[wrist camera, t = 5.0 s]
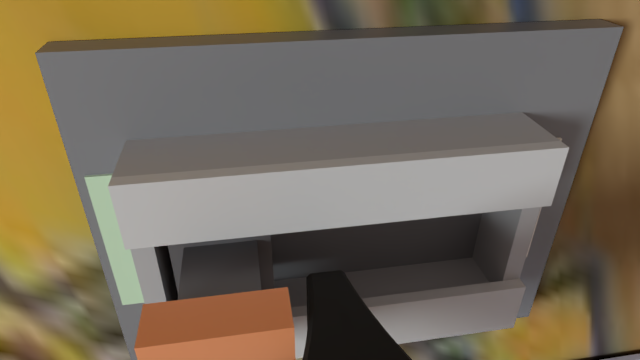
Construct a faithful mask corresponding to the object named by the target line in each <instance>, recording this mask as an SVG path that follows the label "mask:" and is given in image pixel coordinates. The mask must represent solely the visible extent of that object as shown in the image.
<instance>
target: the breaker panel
mask: <svg viewBox="0 0 640 360" xmlns="http://www.w3.org/2000/svg"><path fill="white" fill-rule="evenodd" d="M623 28H624V27H623V26H620V25H617V24H614V23H611V22H608V21H605V20H602V19H590V20H566V21H541V22H517V23H493V24H468V25H444V26H420V27H395V28H371V29H347V30H322V31H298V32H274V33H249V34H225V35H201V36H177V37H152V38H128V39H104V40H79V41H55V42H47V43H46V44H45V45H44V46H43V47H41V48H40V49H39V50H38V51H37V52H36V53H35V54H36V57H37V60H38V64H39V67H40V70H41V73H42V76H43V80H44V83H45V86H46V89H47V92H48V96H49V99H50V102H51V105H52V108H53V112H54V115H55V118H56V121H57V124H58V127H59V131H60V134H61V137H62V140H63V143H64V147H65V150H66V153H67V156H68V159H69V163H70V166H71V169H72V172H73V175H74V179H75V182H76V185H77V188H78V191H79V195H80V198H81V201H82V204H83V207H84V210H85V214H86V217H87V220H88V223H89V226H90V230H91V233H92V236H93V239H94V242H95V246H96V249H97V252H98V255H99V258H100V262H101V265H102V268H103V271H104V274H105V278H106V281H107V284H108V287H109V290H110V293H111V297H112V300H113V303H114V306H115V309H116V313H117V316H118V319H119V322H120V325H121V329H122V332H123V335H124V338H125V341H126V345H127V348H128V351H129V354H130V357H131V360H137V356H136V353H135V350H134V347H135V342H136V337H137V332H138V327H139V322H140V317H141V312H142V307H143V304H150V303H158V302H166V301H175V300H178V291H177V287H176V282H175V277H174V273H173V268H172V263H171V258H170V254H169V249H168V245H176V244H186V243H196V242H205V241H215V240H225V239H234V238H244V237H254V236H263V235H271V245H272V260H273V276H274V289H275V288H283V287H288V291H289V298H290V304H291V310H292V316H293V323H294V333H295V359H296V358H303V355H304V349H305V344H306V337H307V289H306V277H307V276H308V275H309V274H311V273H319V272H328V271H337V270H341V271H343V272H344V273H345V274H346V276H347V278H348V279H349V281H350V282H351V284H352V286H353V287H354V289H355V290H356V292H357V293H358V294H359V296H360V297H361V299H362V300H363V301H364V303H365V304H366V306H367V307H368V308H369V310H370V311H371V312H372V314H373V315H374V316H375V317H376V319H377V320H378V321H379V322H380V324H381V325H382V326H383V327H384V329H385V330H386V331H387V332H388V333H389V335H390V336H391V337H392V338H393V339H394V340H395V342H396V343H397V344H401V343H408V342H415V341H422V340H429V339H436V338H443V337H450V336H457V335H464V334H471V333H478V332H485V331H493V330H500V329H507V328H513V327H514V324H515V321H516V318H520V317H527V316H529V313H530V310H531V307H532V304H533V301H534V298H535V295H536V292H537V289H538V286H539V283H540V280H541V277H542V274H543V271H544V268H545V265H546V262H547V258H548V255H549V252H550V249H551V246H552V243H553V240H554V237H555V234H556V231H557V228H558V225H559V222H560V219H561V216H562V213H563V210H564V207H565V204H566V201H567V198H568V195H569V192H570V189H571V186H572V182H573V179H574V176H575V173H576V170H577V167H578V164H579V161H580V158H581V155H582V152H583V149H584V146H585V143H586V140H587V137H588V134H589V131H590V128H591V125H592V122H593V119H594V116H595V113H596V110H597V107H598V103H599V100H600V97H601V94H602V91H603V88H604V85H605V82H606V79H607V76H608V73H609V70H610V67H611V64H612V61H613V58H614V55H615V52H616V49H617V46H618V43H619V40H620V37H621V34H622V31H623Z"/></svg>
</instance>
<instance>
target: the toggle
mask: <svg viewBox="0 0 640 360" xmlns="http://www.w3.org/2000/svg"><path fill="white" fill-rule="evenodd" d="M168 249H169V254H170V258H171V263H172V268H173V273H174V277H175V282H176V287H177V291H178V300H175V301H166V302H158V303H150V304H143V307H142V312H141V317H140V322H139V327H138V332H137V337H136V342H135V347H134V350H135V353H136V356H137V360H295V333H294V323H293V316H292V310H291V304H290V298H289V291H288V287H283V288H275V289H274V276H273V260H272V245H271V235H263V236H254V237H244V238H234V239H225V240H215V241H205V242H196V243H186V244H176V245H168Z"/></svg>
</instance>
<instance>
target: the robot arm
mask: <svg viewBox="0 0 640 360" xmlns="http://www.w3.org/2000/svg"><path fill="white" fill-rule="evenodd" d="M306 289H307V337H306V344H305V349H304V355H303V360H412V359H411V358H410V357H409V356H408V355H407V354H406V353H405V352H404V351H403V349H402V348H401V347H400V346H399V345H398V344H397V343H396V342H395V340H394V339H393V338H392V337H391V336H390V335H389V333H388V332H387V331H386V330H385V329H384V327H383V326H382V325H381V324H380V322H379V321H378V320H377V319H376V317H375V316H374V315H373V314H372V312H371V311H370V310H369V308H368V307H367V306H366V304H365V303H364V301H363V300H362V299H361V297H360V296H359V294H358V293H357V292H356V290H355V289H354V287H353V286H352V284H351V282H350V281H349V279H348V278H347V276H346V274H345V273H344V272H343V271H341V270H337V271H328V272H319V273H311V274H309V275H308V276H307V277H306ZM601 360H640V353H639V354H633V355H626V356H620V357H614V358H607V359H601Z"/></svg>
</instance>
